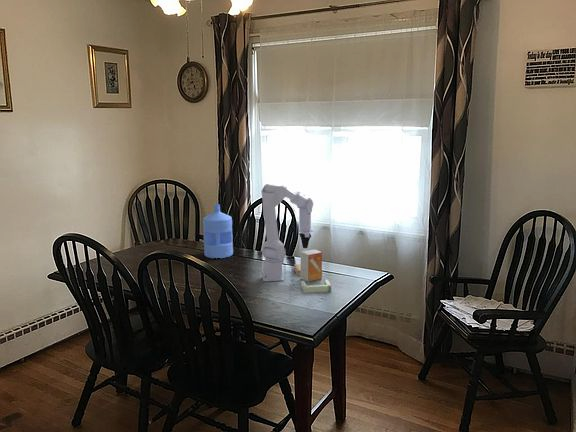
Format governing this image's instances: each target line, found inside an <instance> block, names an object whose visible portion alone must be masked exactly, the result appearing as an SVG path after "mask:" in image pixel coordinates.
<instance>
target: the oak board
mask: <svg viewBox="0 0 576 432" xmlns="http://www.w3.org/2000/svg"><path fill="white" fill-rule="evenodd" d="M294 271H295V273H296V276H297V277H301V263H295V264H294Z"/></svg>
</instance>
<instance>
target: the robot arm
mask: <svg viewBox="0 0 576 432" xmlns="http://www.w3.org/2000/svg"><path fill="white" fill-rule="evenodd" d="M261 197H262V198H261V199H262V211H263V218H264V228H265V235H266V241H265V242H264V243H263V244H262V255H263V256H262V257H264V260H262V261H261V268H262V269H261V277H262V281H263V282H280V281H281V282H283V281H284V276H283V261H284V259H285V258H286V254H287V253H286V248H285V247H284V246H285V245H284V243H283V242H282V241H281V240H280V238H279V230H278V229H279V228H278V222H277V221H278V220H277V212H276V207H277V206H279V205H280V204H281V202H283V200H284V199H285V198H287V199H289V201H290V203H292V204H294V205H295V206H296V207H297V209H299V210H298V213H299V217H298V219H299V222H298V224H299V225H298V226H299V229H298V232H299V233H298V235H299V237H300V240H301V241H300V242H301V246H302V248H303V249H308V248H309V242H310V239H311V238H312V234H311V233H312V232H314V229H312V225H311V224H312V219H311V218H312V212H313V211H312V210H313V207H314V202H313V199H312V198H310V197H306V195H305V194H301V192H300V191H294V192H293V191H291V189H288V188H287V186H284V185H282V184H281V185H278V184H270V183H266V184H265V185H264V186H263V187H262V188H261Z"/></svg>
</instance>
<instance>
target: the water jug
mask: <svg viewBox="0 0 576 432" xmlns="http://www.w3.org/2000/svg"><path fill="white" fill-rule="evenodd" d="M213 206H214V207H213V210H214V211H213V212H212V213H210V214H208V215H206V216H204V217H203V219H202V226H203V244H204V248H203V249H204V251H203V253H204V256H205V257H206V258H208V259H214V258H216V260H217V258H220V259H225V258H226V257H227V258H230V257H231V256H233V254H234V247H233V245H234V242H233V240H234V239H233V219H232V218H233V217H232V216H231V215H228V214H226V213H224V212H221V207H220V206H221V205H220V204H219V203H218V204H217V203H216V204H215V203H214V204H213Z"/></svg>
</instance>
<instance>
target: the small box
mask: <svg viewBox="0 0 576 432" xmlns="http://www.w3.org/2000/svg"><path fill="white" fill-rule="evenodd" d="M300 264H301V276H300V279H302V281H305V282H313V281H317V280H322V279H323V252H322V251H320V250H317V249H314V248H313V249H310V250H303V251H300Z"/></svg>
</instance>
